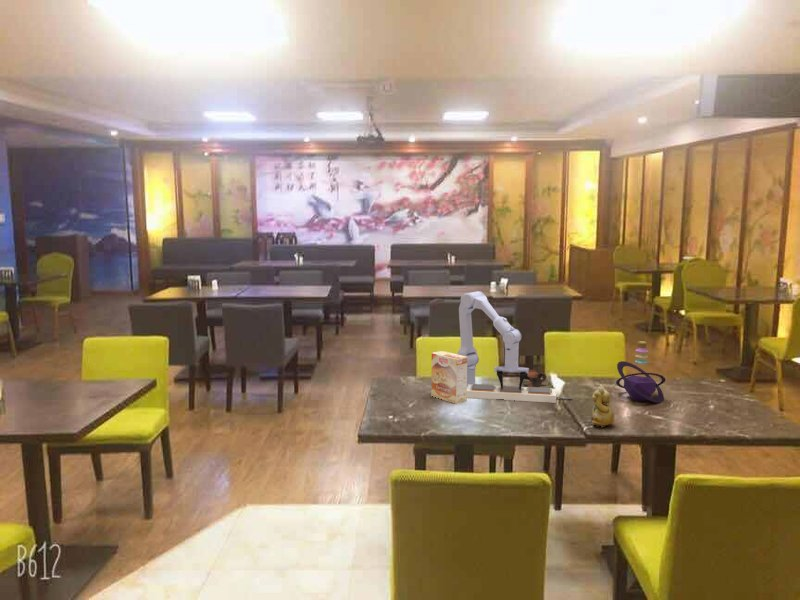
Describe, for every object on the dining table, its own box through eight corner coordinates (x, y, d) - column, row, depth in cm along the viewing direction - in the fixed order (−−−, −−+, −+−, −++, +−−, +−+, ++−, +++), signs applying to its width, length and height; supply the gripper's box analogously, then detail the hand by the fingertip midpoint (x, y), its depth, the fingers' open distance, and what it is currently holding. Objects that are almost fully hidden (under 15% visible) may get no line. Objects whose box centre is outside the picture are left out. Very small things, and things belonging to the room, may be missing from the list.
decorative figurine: (592, 419, 247) (593, 381, 245) (614, 422, 244) (616, 384, 242) (589, 427, 239) (591, 388, 236) (613, 430, 236) (614, 390, 233)
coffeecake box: (430, 396, 278) (430, 352, 275) (442, 393, 283) (442, 350, 280) (455, 404, 267) (456, 358, 264) (467, 401, 272) (467, 356, 269)
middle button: (499, 394, 275) (499, 390, 274) (500, 389, 282) (500, 385, 281) (521, 395, 273) (521, 391, 273) (521, 391, 280) (521, 386, 280)
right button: (528, 395, 272) (528, 391, 272) (528, 391, 279) (528, 386, 279) (550, 397, 270) (550, 392, 270) (549, 392, 277) (550, 387, 277)
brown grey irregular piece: (522, 389, 291) (518, 371, 294) (523, 392, 300) (519, 375, 303) (548, 383, 289) (544, 365, 292) (549, 387, 298) (545, 370, 301)
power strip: (465, 397, 276) (466, 391, 275) (468, 390, 286) (468, 384, 286) (573, 403, 267) (573, 396, 267) (571, 396, 278) (571, 389, 277)
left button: (471, 392, 277) (471, 388, 277) (473, 388, 284) (473, 383, 284) (493, 394, 275) (493, 389, 275) (494, 389, 282) (494, 385, 282)
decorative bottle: (657, 410, 259) (660, 349, 255) (605, 400, 271) (608, 343, 268) (672, 397, 276) (675, 340, 273) (623, 388, 289) (625, 334, 285)
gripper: (494, 359, 272) (493, 390, 274) (528, 360, 270) (528, 391, 272) (495, 355, 279) (494, 385, 281) (528, 356, 276) (528, 387, 278)
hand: (511, 388), depth 277 cm, fingers open, 7 cm apart
